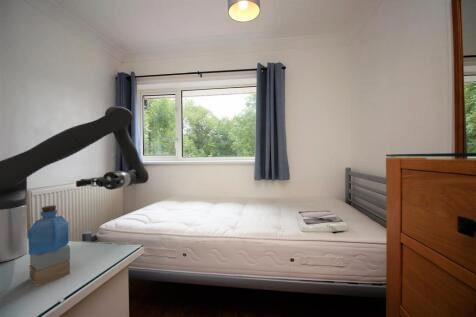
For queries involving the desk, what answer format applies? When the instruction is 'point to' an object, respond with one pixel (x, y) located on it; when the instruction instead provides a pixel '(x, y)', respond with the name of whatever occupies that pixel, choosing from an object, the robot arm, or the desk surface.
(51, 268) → the tower base block
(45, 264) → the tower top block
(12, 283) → the desk surface
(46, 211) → the perfume bottle
